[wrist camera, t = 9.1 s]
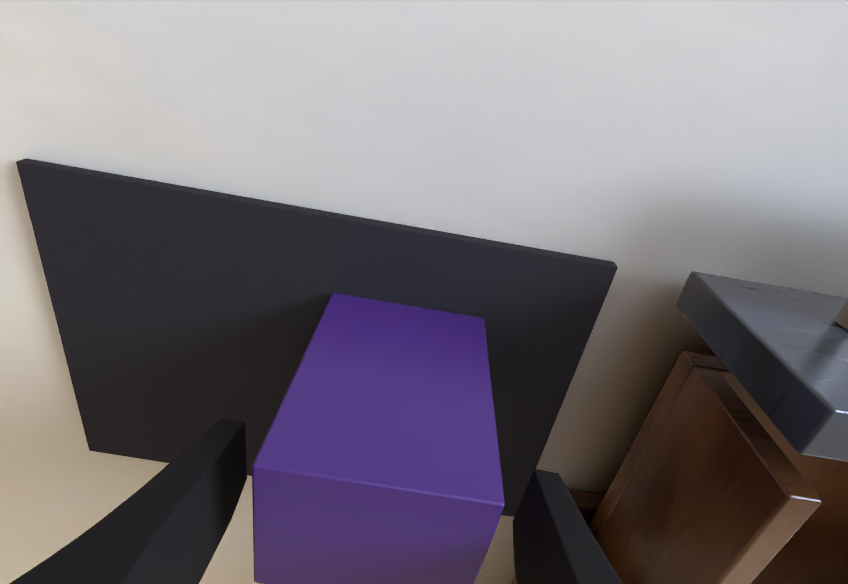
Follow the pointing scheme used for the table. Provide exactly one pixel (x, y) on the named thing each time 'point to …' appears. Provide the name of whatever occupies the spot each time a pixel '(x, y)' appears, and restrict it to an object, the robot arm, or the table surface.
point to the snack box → (381, 453)
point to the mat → (278, 307)
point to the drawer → (740, 448)
